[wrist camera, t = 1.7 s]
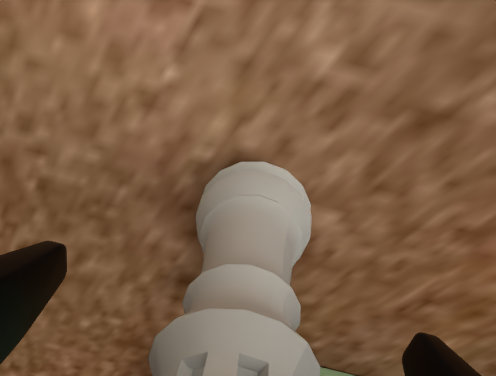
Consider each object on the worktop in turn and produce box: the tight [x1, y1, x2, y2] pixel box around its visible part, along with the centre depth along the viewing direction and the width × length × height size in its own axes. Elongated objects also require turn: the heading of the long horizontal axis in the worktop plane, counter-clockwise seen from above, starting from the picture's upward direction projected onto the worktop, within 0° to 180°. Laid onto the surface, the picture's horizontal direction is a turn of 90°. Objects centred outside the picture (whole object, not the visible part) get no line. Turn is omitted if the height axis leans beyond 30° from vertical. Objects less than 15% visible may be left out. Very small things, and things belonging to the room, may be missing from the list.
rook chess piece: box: [148, 162, 320, 376], centre depth 8 cm, size 4×4×8 cm
